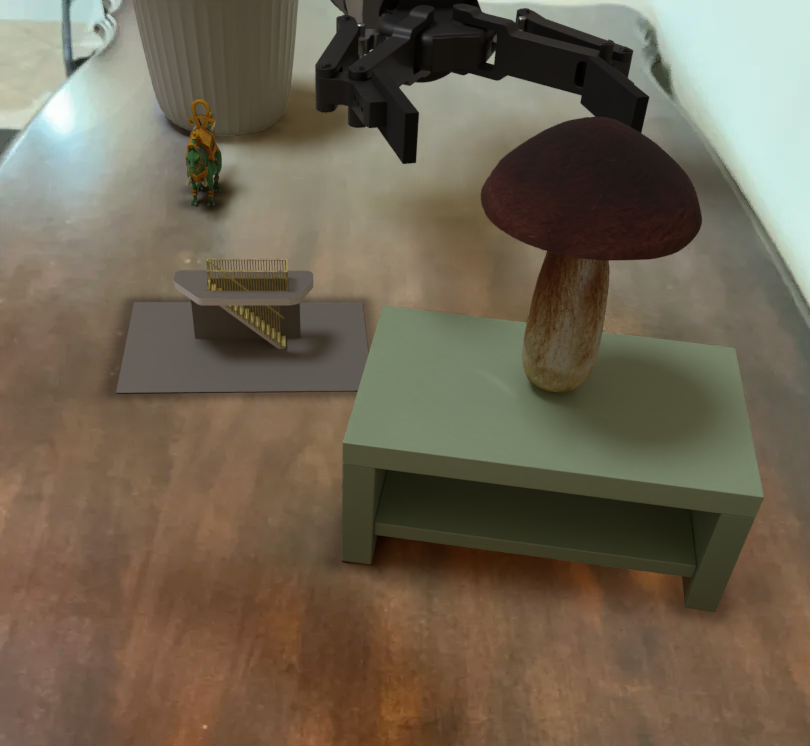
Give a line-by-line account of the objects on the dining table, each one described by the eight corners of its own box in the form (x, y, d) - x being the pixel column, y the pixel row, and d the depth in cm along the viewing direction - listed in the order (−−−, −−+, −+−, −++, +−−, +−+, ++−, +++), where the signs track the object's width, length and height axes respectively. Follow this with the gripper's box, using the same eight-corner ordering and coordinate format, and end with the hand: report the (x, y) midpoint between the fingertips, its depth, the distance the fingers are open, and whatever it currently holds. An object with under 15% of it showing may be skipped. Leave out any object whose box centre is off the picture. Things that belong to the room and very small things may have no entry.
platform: (372, 390, 70) (375, 310, 65) (115, 392, 68) (100, 310, 63) (362, 302, 78) (364, 225, 74) (133, 302, 76) (121, 223, 72)
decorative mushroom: (492, 316, 61) (526, 64, 50) (666, 360, 58) (739, 104, 48) (432, 413, 53) (456, 140, 43) (627, 468, 51) (705, 192, 40)
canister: (275, 165, 95) (265, -84, 81) (105, 136, 98) (66, -111, 83) (332, 101, 108) (333, -125, 93) (181, 76, 111) (158, -147, 96)
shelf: (696, 459, 66) (735, 347, 60) (715, 612, 56) (764, 497, 50) (377, 419, 67) (382, 304, 61) (340, 561, 57) (342, 442, 51)
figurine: (179, 219, 86) (169, 127, 81) (201, 162, 95) (192, 75, 89) (214, 221, 86) (206, 129, 81) (232, 164, 95) (226, 77, 89)
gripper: (565, 56, 74) (707, 177, 59) (237, 75, 67) (308, 214, 53) (583, -57, 68) (744, 46, 54) (229, -48, 62) (305, 70, 48)
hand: (528, 130), depth 54 cm, fingers open, 13 cm apart
